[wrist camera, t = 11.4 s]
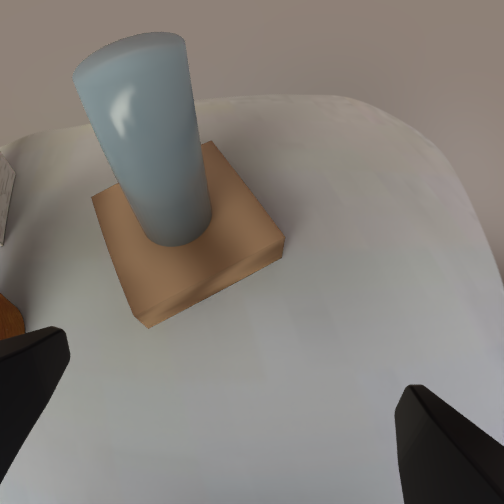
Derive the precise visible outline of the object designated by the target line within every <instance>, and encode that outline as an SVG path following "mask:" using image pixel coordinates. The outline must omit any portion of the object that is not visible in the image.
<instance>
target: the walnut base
mask: <svg viewBox="0 0 504 504" xmlns="http://www.w3.org/2000/svg"><path fill="white" fill-rule="evenodd" d="M201 148H202V154H203V160H204V166H205V172H206V177H207V183H208V189H209V194H210V200H211V205H212V218H211V221H210V224H209V226H208V227H207V229H206V230H205V231H204V233H203V234H202V235H201V236H199V237H198V238H197V239H195V240H194V241H192V242H190V243H188V244H185V245H181V246H176V247H166V246H161V245H158V244H156V243H154V242H152V241H151V240H150V239H148V238H147V236H146V235H145V234H144V232H143V230H142V228H141V226H140V224H139V222H138V221H137V219H136V217H135V215H134V213H133V211H132V209H131V207H130V205H129V203H128V201H127V199H126V197H125V195H124V193H123V191H122V189H121V187H120V185H119V183H117V184H115V185H113V186H111V187H110V188H108V189H106V190H104V191H102V192H100V193H98V194H96V195H94V196H93V197H91V198H92V201H93V205H94V208H95V211H96V215H97V218H98V221H99V224H100V227H101V230H102V233H103V236H104V239H105V242H106V245H107V248H108V251H109V254H110V256H111V259H112V262H113V265H114V267H115V270H116V273H117V275H118V278H119V280H120V283H121V286H122V288H123V291H124V293H125V296H126V298H127V301H128V303H129V305H130V308H131V310H132V313H133V315H134V317H136V318H137V319H138V320H139V321H140V322H141V323H142V324H144V325H145V326H146V327H147V328H148V329H149V328H150V327H152V326H154V325H156V324H158V323H160V322H162V321H164V320H166V319H168V318H170V317H172V316H173V315H175V314H177V313H179V312H181V311H183V310H185V309H187V308H189V307H191V306H193V305H194V304H196V303H198V302H200V301H202V300H204V299H206V298H208V297H210V296H211V295H213V294H215V293H217V292H219V291H221V290H223V289H225V288H226V287H228V286H230V285H232V284H234V283H236V282H238V281H240V280H241V279H243V278H245V277H247V276H249V275H251V274H253V273H254V272H256V271H258V270H260V269H262V268H264V267H266V266H267V265H269V264H271V263H273V262H275V261H277V260H278V259H280V258H282V253H283V247H284V241H285V236H284V235H283V234H282V232H281V231H280V230H279V228H278V227H277V226H276V224H275V223H274V221H273V220H272V219H271V217H270V216H269V215H268V213H267V212H266V211H265V209H264V208H263V207H262V205H261V204H260V203H259V202H258V200H257V199H256V198H255V196H254V195H253V194H252V192H251V191H250V190H249V188H248V187H247V186H246V184H245V183H244V182H243V180H242V179H241V178H240V177H239V175H238V174H237V173H236V171H235V170H234V169H233V168H232V166H231V165H230V164H229V162H228V161H227V160H226V158H225V157H224V156H223V155H222V153H221V152H220V151H219V150H218V148H217V147H216V146H215V144H214V143H213V142H212V141H209V142H207V143H204V144H202V145H201Z"/></svg>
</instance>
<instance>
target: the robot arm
mask: <svg viewBox="0 0 504 504" xmlns="http://www.w3.org/2000/svg"><path fill="white" fill-rule="evenodd" d="M69 361H70V350H69V346H68V341H67V336H66V333H65V331H64V330H63V329H60V328H57V327H54V326H50V327H46V328H43V329H39V330H35V331H32V332H28V333H25V334H21V335H17V336H14V337H10V338H7V339H3V340H0V484H1V482H2V480H3V479H4V477H5V475H6V473H7V471H8V469H9V468H10V466H11V464H12V462H13V460H14V459H15V457H16V455H17V453H18V452H19V450H20V448H21V446H22V445H23V443H24V441H25V440H26V438H27V436H28V435H29V433H30V431H31V430H32V428H33V426H34V425H35V423H36V421H37V420H38V418H39V417H40V415H41V413H42V412H43V410H44V409H45V407H46V405H47V404H48V402H49V400H50V398H51V396H52V394H53V392H54V390H55V388H56V386H57V384H58V383H59V381H60V379H61V377H62V375H63V373H64V371H65V369H66V367H67V365H68V363H69ZM395 427H396V440H397V455H398V466H399V473H400V479H401V485H402V492H403V498H404V504H504V446H503V445H501V444H500V443H499V442H497V441H496V440H495V439H493V438H492V437H491V436H489V435H488V434H487V433H485V432H484V431H483V430H481V429H480V428H479V427H477V426H476V425H475V424H474V423H472V422H471V421H470V420H468V419H467V418H466V417H464V416H463V415H462V414H460V413H459V412H458V411H456V410H455V409H454V408H452V407H451V406H450V405H449V404H447V403H446V402H445V401H443V400H442V399H441V398H439V397H438V396H437V395H435V394H434V393H433V392H431V391H430V390H429V389H428V388H426V387H425V386H423V385H408V386H407V387H406V388H405V390H404V392H403V394H402V396H401V398H400V400H399V403H398V405H397V407H396V409H395Z"/></svg>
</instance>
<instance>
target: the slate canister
mask: <svg viewBox="0 0 504 504" xmlns="http://www.w3.org/2000/svg"><path fill="white" fill-rule="evenodd" d="M73 82H74V84H75V87H76V89H77V92H78V94H79V97H80V99H81V101H82V104H83V106H84V109H85V111H86V113H87V116H88V118H89V120H90V123H91V125H92V127H93V130H94V132H95V134H96V136H97V139H98V141H99V143H100V145H101V147H102V150H103V152H104V154H105V156H106V158H107V160H108V162H109V165H110V167H111V169H112V171H113V173H114V175H115V177H116V179H117V181H118V183H119V185H120V187H121V189H122V191H123V193H124V195H125V197H126V199H127V201H128V203H129V205H130V207H131V209H132V211H133V213H134V215H135V217H136V219H137V221H138V222H139V224H140V226H141V228H142V230H143V232H144V234H145V235H146V236H147V238H148V239H150V240H151V241H152V242H154V243H156V244H158V245H161V246H166V247H176V246H181V245H185V244H188V243H190V242H192V241H194V240H195V239H197V238H198V237H199V236H201V235H202V234H203V233H204V231H205V230H206V229H207V227H208V226H209V224H210V221H211V218H212V205H211V200H210V194H209V189H208V183H207V177H206V172H205V166H204V160H203V154H202V148H201V142H200V136H199V130H198V124H197V118H196V112H195V106H194V99H193V93H192V87H191V80H190V73H189V66H188V59H187V52H186V46H185V41H184V39H183V38H182V37H181V36H179V35H177V34H173V33H168V32H151V33H143V34H138V35H134V36H130V37H127V38H123V39H120V40H118V41H115V42H113V43H110V44H108V45H106V46H104V47H103V48H101V49H99V50H97V51H95V52H94V53H92V54H91V55H89V56H88V57H87V58H86V59H85V60H83V61H82V62H81V63H80V64H79V65H78V67H77V68H76V69H75V71H74V73H73Z"/></svg>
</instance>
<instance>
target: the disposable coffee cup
mask: <svg viewBox="0 0 504 504" xmlns="http://www.w3.org/2000/svg"><path fill="white" fill-rule="evenodd" d="M21 334H25V327H24V321H23V318H22V315H21V313H20V311H19V310H18V309H17V307H15V306H14V305H13V304H12V303H11V302H10V301H8V300H7V299H6V298H5V297H4V296H3V295H2V294H1V293H0V340H3V339H7V338H10V337H14V336H17V335H21Z"/></svg>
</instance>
